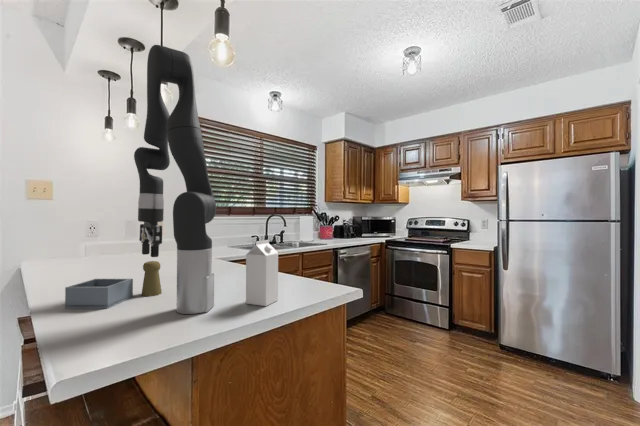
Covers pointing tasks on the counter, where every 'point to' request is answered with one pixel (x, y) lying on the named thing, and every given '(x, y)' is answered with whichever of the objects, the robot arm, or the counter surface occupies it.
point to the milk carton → (262, 274)
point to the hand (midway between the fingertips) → (149, 255)
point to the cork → (151, 279)
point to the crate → (98, 293)
